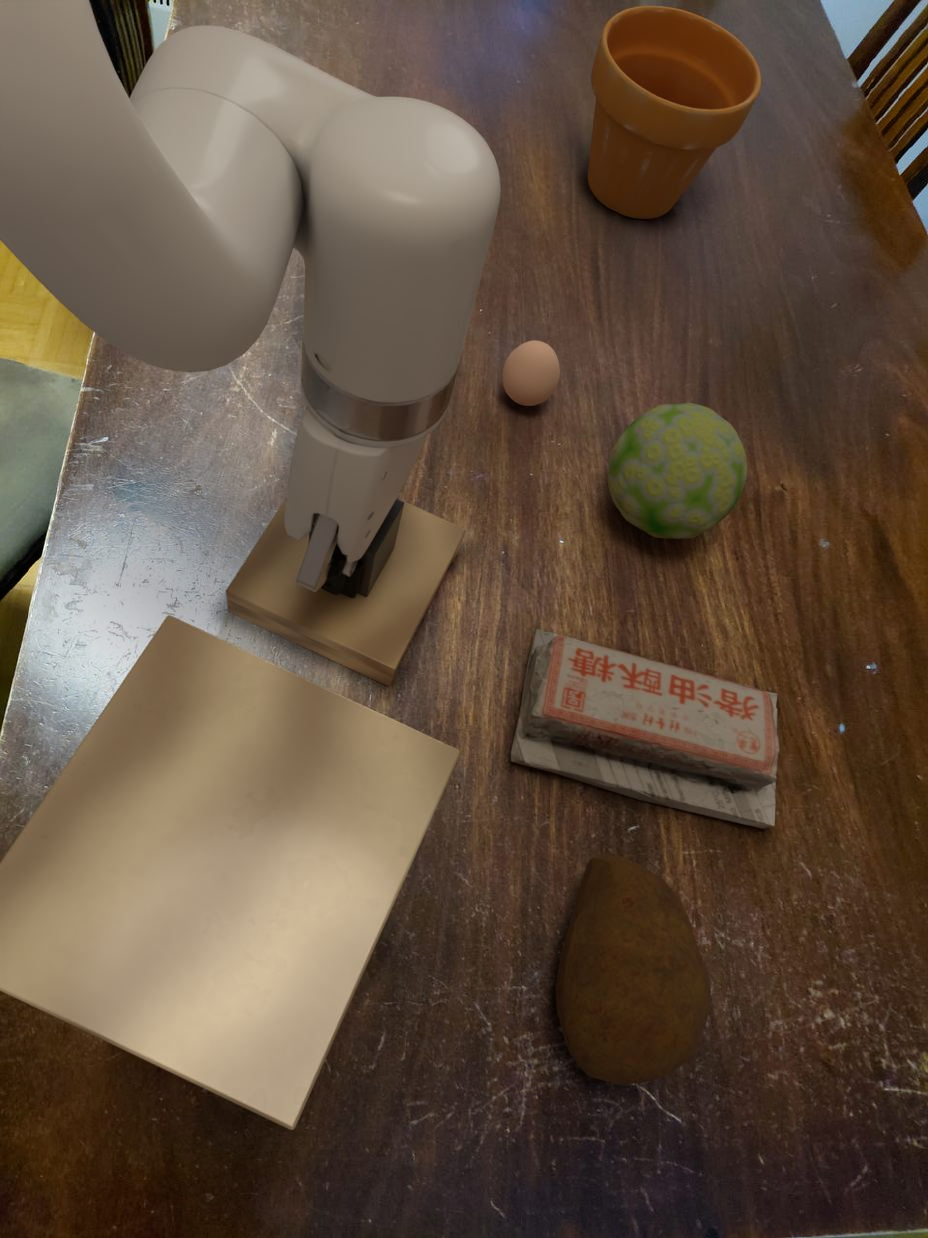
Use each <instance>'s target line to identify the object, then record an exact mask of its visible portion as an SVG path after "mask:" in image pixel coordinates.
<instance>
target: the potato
mask: <svg viewBox="0 0 928 1238" xmlns="http://www.w3.org/2000/svg"><path fill="white" fill-rule="evenodd" d="M585 866H586V867H585V869H584V873H583V876H582V878H581V882H580V885H579V889H578V891H577V896H576V899H575V903H574V906H573V910H572V913H571V916H570V921H569V923H568V926H567V930H566V933H565V938H564V941H563V944H562V948H561V953H560V957H559V958H560V959H559V964H558V969H557V976H556V983H555V1002H556V1012H557V1017H558V1020H559V1024H560V1029H561V1033H562V1036H563V1038H564V1041H565V1044H566V1047H567V1050H568V1053H569V1055H570V1056H571V1058H572V1059H573V1060H574V1062H575V1063H576V1064H577V1065H578V1067H579V1068H580V1069H581V1071H582V1072H583V1073H584V1074H585V1075H586V1076H587V1077H590V1078H592V1079H596V1080H600V1081H603V1082H607V1083H611V1084H613V1085H617V1086H622V1087H624V1086H629V1085H635V1084H640V1083H646V1082H650V1081H657V1080H660V1079H664V1078H666V1077H668V1075H671V1074H672V1073H673V1072H674V1071H676V1070H678V1069H679V1068H680V1067H681V1066H683V1065H685V1063H687V1062H689V1061H690V1059H691V1057H692V1055H693V1053H694V1051H695V1049H696V1047H697V1045H698V1043H699V1041H700V1039H701V1037H702V1035H703V1032H704V1028H705V1026H706V1023H707V1020H708V1017H709V1014H710V1006H711V1005H710V1004H711V994H712V992H711V991H712V990H711V989H712V988H711V986H710V985H711V984H710V982H709V977H708V974H707V973H708V972H707V970H706V966H705V963H704V960H703V957H702V955H701V952H700V948H699V947H698V944H697V941H696V938H695V937H696V936H695V934H694V930H693V927H692V924H691V921H690V918H689V915H688V913H687V911H686V908H685V906H684V905H683V903H682V901H681V899H680V897H679V894H678V893H677V892H675V890H674V889H673V888H672V887H671V886H670V885H669V884H668V883H667V882H666V881H665V880H664V879H663V878H662V877H661V876H660V875H659V874H657V873H655V872H654V871H652V870H650V869H648V868H647V867H645V866H643V865H641V864H639V863H637V862H634V861H632V860H631V859H628V858H625V857H624V856H621V855H619V854H616V853H613V852H611V851H610V852H607V853H604V854H600V855H596V856H594V857H593V856H592V858H591V859H589V861H587V863H586V865H585Z"/></svg>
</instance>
